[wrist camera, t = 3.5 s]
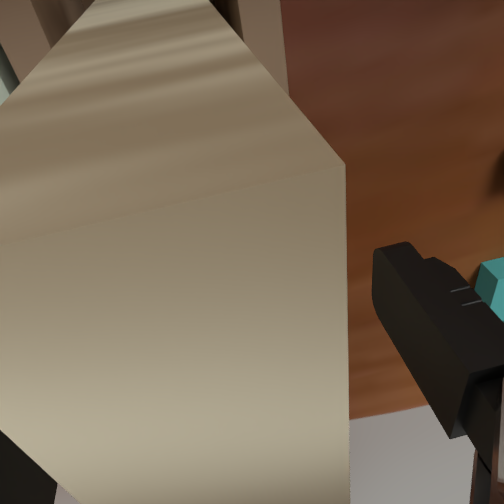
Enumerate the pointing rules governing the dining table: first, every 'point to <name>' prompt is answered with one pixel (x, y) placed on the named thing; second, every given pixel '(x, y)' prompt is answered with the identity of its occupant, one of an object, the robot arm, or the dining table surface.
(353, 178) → the dining table surface
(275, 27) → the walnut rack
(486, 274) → the alien figure
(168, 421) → the birch panel
